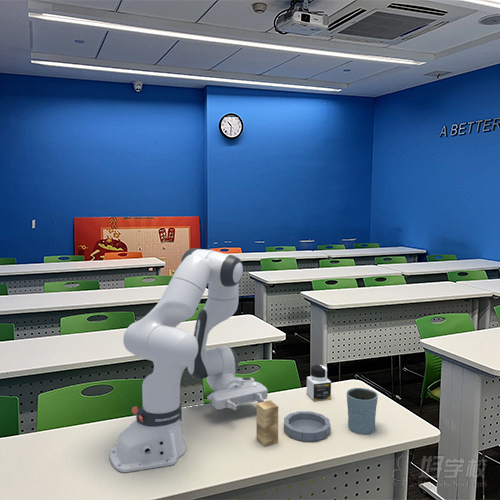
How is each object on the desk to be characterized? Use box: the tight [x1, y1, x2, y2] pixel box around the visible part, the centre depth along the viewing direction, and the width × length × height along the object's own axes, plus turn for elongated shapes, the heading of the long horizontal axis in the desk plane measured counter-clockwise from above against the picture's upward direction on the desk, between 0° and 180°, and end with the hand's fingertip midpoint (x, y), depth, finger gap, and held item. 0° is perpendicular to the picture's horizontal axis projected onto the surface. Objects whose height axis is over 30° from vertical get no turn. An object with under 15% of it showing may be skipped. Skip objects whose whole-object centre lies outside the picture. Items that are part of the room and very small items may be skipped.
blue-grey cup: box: [346, 387, 379, 435], centre depth 163 cm, size 10×10×12 cm
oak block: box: [255, 399, 279, 447], centre depth 154 cm, size 5×5×12 cm
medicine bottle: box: [306, 364, 332, 402], centre depth 187 cm, size 7×7×12 cm
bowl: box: [283, 410, 331, 443], centre depth 162 cm, size 15×15×3 cm
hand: (249, 404), depth 165 cm, fingers open, 8 cm apart
